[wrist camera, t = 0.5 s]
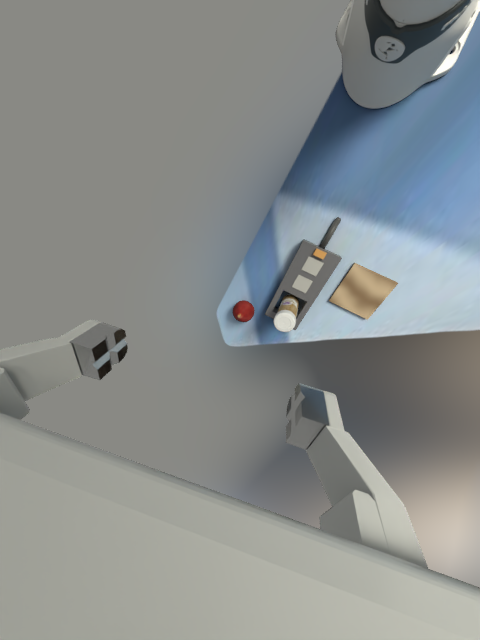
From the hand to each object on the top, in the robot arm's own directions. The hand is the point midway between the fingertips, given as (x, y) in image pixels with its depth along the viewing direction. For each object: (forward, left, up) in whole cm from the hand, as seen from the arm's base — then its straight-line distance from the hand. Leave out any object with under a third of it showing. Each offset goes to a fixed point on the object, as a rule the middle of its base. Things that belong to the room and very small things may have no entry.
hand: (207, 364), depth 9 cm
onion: (+18, -4, -46) cm, 50 cm away
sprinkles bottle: (+11, +6, -46) cm, 48 cm away
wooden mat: (+1, +19, -46) cm, 49 cm away
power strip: (+3, +6, -46) cm, 46 cm away
